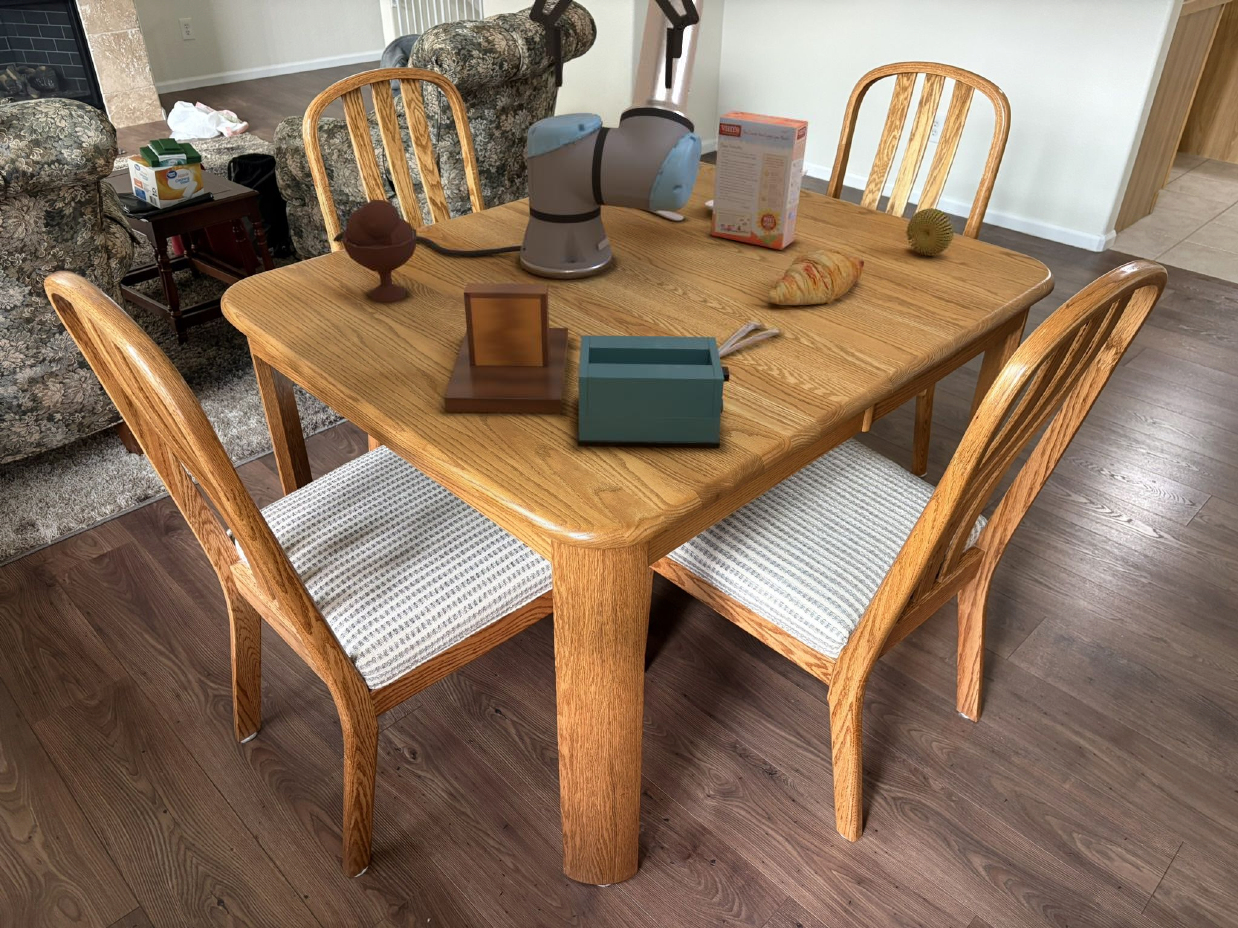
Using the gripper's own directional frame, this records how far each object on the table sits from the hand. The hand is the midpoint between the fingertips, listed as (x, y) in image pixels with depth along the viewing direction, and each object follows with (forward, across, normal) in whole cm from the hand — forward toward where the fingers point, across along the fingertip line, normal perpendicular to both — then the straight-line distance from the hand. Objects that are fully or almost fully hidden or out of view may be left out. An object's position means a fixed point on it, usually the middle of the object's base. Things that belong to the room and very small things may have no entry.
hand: (613, 86), depth 113 cm
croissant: (+33, +32, +13) cm, 48 cm away
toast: (+31, -13, -15) cm, 37 cm away
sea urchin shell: (+33, +54, +31) cm, 71 cm away
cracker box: (+33, +25, +37) cm, 56 cm away
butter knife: (+33, +4, +55) cm, 64 cm away
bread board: (+33, -13, -13) cm, 38 cm away
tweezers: (+33, +17, -8) cm, 38 cm away
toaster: (+33, +5, -27) cm, 43 cm away
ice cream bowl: (+33, -34, +10) cm, 49 cm away
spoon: (+33, +28, +60) cm, 74 cm away
